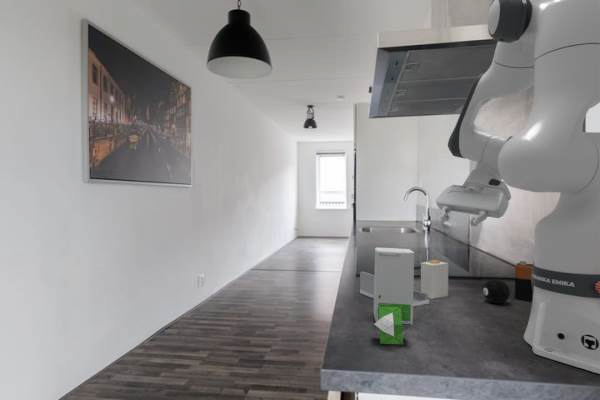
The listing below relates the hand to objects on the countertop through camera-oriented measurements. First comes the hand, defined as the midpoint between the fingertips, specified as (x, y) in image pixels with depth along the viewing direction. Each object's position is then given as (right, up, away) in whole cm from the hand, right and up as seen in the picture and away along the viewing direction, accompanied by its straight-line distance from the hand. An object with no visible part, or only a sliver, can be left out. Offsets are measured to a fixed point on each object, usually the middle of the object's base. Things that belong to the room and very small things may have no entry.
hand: (457, 222), depth 106 cm
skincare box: (-25, -20, -24) cm, 40 cm away
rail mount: (-21, -20, -8) cm, 30 cm away
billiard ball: (+5, -20, -12) cm, 24 cm away
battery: (+15, -20, -9) cm, 27 cm away
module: (-9, -20, -5) cm, 22 cm away
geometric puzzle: (-29, -21, -37) cm, 51 cm away
